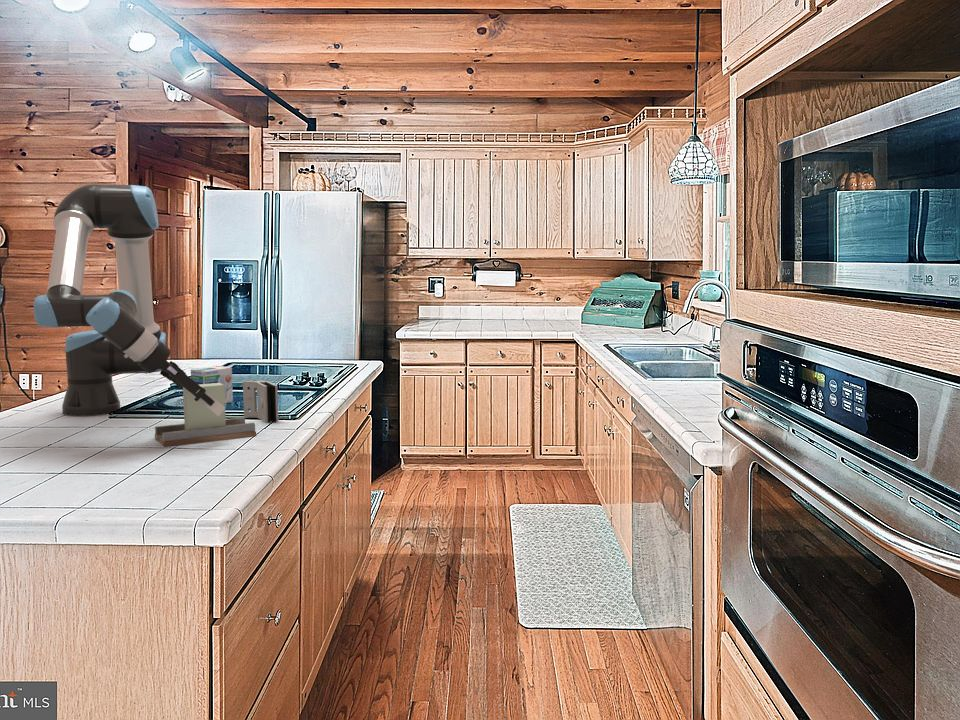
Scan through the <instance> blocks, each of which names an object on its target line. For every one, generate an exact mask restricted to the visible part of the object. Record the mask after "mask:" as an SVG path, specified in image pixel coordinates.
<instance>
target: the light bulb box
mask: <svg viewBox="0 0 960 720" xmlns="http://www.w3.org/2000/svg"><path fill="white" fill-rule="evenodd" d="M190 378H191V379H192V380H193V381H195V382H196V383H197V384H198V385H199V384H211V383H221V384H223V385H224V394H225V404H227V403H233V402H234V401H233V399H234V398H233V397H234V396H233V395H234V394H233V367H230V366H223V365H214V366H207V367H206V366H205V367H199V368H192V369H190Z"/></svg>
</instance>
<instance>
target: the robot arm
mask: <svg viewBox="0 0 960 720" xmlns="http://www.w3.org/2000/svg"><path fill="white" fill-rule="evenodd" d="M53 215H54V216H53V220H52V221H53V222H52V224H53V228H54V230H55V237H54V244H53V249H52V257H51V263H50V268H49V269H50V270H49V275H48V282H47V288H46V294H43V295H41V294H40V295H37V296H35V298H34V300H33V317H34V320H35V323H36V324H37V325H38V326H39V327H42V328H66V327H67V328H68V327H70V328H71V327H73V328H74V327H91V328H93V329H92V330H85V331H78V332H75V333H71V334H69V335H67V337H66V338H65V349H64V353H65V361H66V378H67V386H66V387H67V388H66V391H65V395H64V397H63V398H64V399H63V402H62V405H61V407H62V408H61V409H62V410H61V411H62V414H64V415H65V416H73V417H74V416H75V417H77V416H78V417H81V416H83V417H84V416H85V417H86V416H87V417H88V416H89V417H90V416H98V415H99V416H100V415H105V414H111V412H112V413H114V412H113V411H116V410H118V409H120V410H121V402H120V398H119V396H118V394H117V391H116V389H115V386H114V385H113V375H121V374H122V375H125V374H126V375H127V374H128V375H129V374H153V373H159V374H160V375H161V376H162V377H164V378H166V379H167V380H168V381H170V382H172V383H174V385H176V387H177V388H179V389H180V390H182V391H183V387H184V388H185V389H186V390H188V391H189V392H190V393H191V394H193V395H194V396H195V397H196V398H195V399H194V400H195V401H196V402H197V401H198V400H199V401H200V402H201V403H203V404H204V405H205V406H206V407H207V408H208V409H210V410H211V411H212V412H213V413H214V414H216V415H217V416H219V415H220V414H221V413H222V412H223V411H224V410H225V411H226V409H227V407H226V406H225V407H224V406H223V405H222V404H221V403H219V402H218V401H217V400H216V399H215V398H214V397H212V396H211V395H210V394H209V393H208V392H207V391H206V390H205V389H204V388H202V387H201V386H200V385H198V384H197V383H196V382H195V381H193V380H192V379H191V376H188V375H187V373H186V372H185V371H184V370H183V369H181V367H180V366H179V365H178V364H176V362H175V361H171V360H170V361H168V358H169V357H170V355H171V354H172V351H171V349H170V348H169V347H167V345H166V337H167V334H166V333H165V332H163V331H161V327H160V325H159V324H158V323H157V322H155V317H154V304H153V303H154V302H153V289H152V277H151V264H150V263H151V262H150V248H149V240H150V239H152V237H153V236H154V231H155V230H158V229H159V225H160V224H159V216H158V210H157V205H156V200H155V195H154V194H153V191H152V190H151V188H149V187H148V186H144V185H134V184H92V183H91V184H86V185H82V186H79V187H77V188H76V189H74V190H73V191H71V192H70V193H68V194H67V195H66V196H65V197H64V198H63V199H62V200H61V201H60V203H59V204H58V206H57V207H56V209H55V212H54V214H53ZM94 229H107V237H109V238H111V239H112V240H113V241H114V247H115V248H114V249H115V261H116V273H117V283H118V289H116V290H113V291H111V292H109V293H108V294H83V286H84V277H85V267H86V260H87V250H88V244H89V243H88V242H89V237H90V236H91V235H92V233H93V232H94ZM198 390H199V391H198ZM197 391H198V393H197V394H196V392H197ZM118 411H119V410H118ZM116 412H117V411H116Z"/></svg>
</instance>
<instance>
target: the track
mask: <svg viewBox="0 0 960 720" xmlns="http://www.w3.org/2000/svg"><path fill="white" fill-rule="evenodd" d="M225 420H226V426H219V427H210V428H201V429H192V430H185V424H184V423H176V424H167V425H160V426H159V425H157V426H154V438H155V439H154V440H156V441H157V442H159V444H161V445H163V447H165V448H166V447H174V446H182V445H184V446H185V445H190V444H199V443H200V444H201V443H207V442H215V441H224V440H231V439H232V440H233V439H241V438H243V439H244V438H250V437H251V438H252V437H257V431H256V423H255V422H248V423H246V417H245V416H243V417H233V418H225Z"/></svg>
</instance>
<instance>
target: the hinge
mask: <svg viewBox="0 0 960 720" xmlns="http://www.w3.org/2000/svg"><path fill="white" fill-rule="evenodd" d="M242 393H243V394H242V395H243V396H242V397H243V399H242V400H243V417H245V418H246V417H249V418H257V419H259V420H261V421H263V422H264V423H268V424H272V423H277V422H279V400H278V399H279V397H278V395H279V392H278V384H275V383H273V382H272V381H267V380H256V381H251V380H243V381H242ZM249 409H250V410H249Z"/></svg>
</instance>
